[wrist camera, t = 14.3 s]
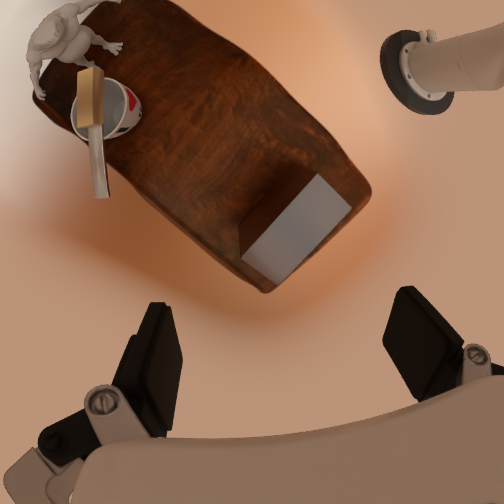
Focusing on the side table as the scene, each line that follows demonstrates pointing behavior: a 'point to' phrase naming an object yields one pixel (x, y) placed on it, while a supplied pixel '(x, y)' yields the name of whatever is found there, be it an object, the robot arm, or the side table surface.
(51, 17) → the figurine
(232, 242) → the side table surface
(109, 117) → the cup
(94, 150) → the knife
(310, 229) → the dark rectangular block
